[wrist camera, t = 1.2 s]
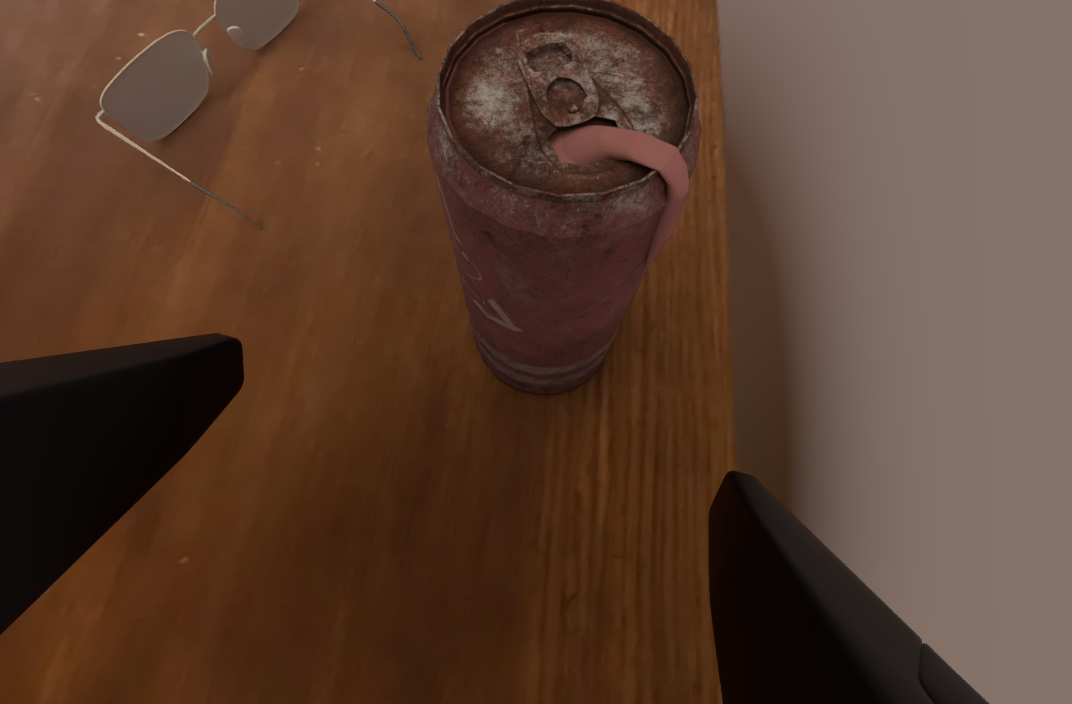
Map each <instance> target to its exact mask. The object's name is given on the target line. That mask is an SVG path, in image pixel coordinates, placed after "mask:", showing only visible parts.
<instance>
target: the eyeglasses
mask: <svg viewBox="0 0 1072 704" xmlns="http://www.w3.org/2000/svg"><path fill="white" fill-rule="evenodd" d="M372 1H373V2H375V4H377V5H378V6H379V7H381V8H382V9H383V10H385V11H386V12H388V13H389V14H390V15H391V16H393V17H394V18H395V19H396V20H397V22H398V23H399V24H400V26H401V28H402V29H403V31H404V33H405V35H406V37H407V39H408V41H409V43H410V45H411V47H412V49H413V51H414V53H415V54H416V56H417V58H421V56H420V55H419V53H418V51H417V50H416V48H415V46H414V44H413V42H412V40H411V38H410V36H409V34H408V32H407V31H406V29H405V27H404V25H403V24H402V22H401V21H400V19H399V18H398V17H397V16H396V15H395V14H394V13H393V12H392V11H390V10H389V9H388V8H386V7H385V6H384V5H382V4H381V3H380V2H378V1H377V0H372ZM299 7H300V0H215V2H214V13H215V14H214V15H213V16H211V17H210V18H209V19H208V20H207V21H206V22H204V23H203V24H202V25H201V26H200V27H199V28H198V29H197V30H196V31H195V32H194V33H193V34H192V33H190V32H189V31H186V30H175V31H172V32H169V33H167V34H165V35H163V36H162V37H160V38H158V39H157V40H155V41H154V42H153V43H151V44H150V45H149V46H147V47H146V48H145V49H144V50H143V51H141V52H140V53H139V54H138V55H136V56H135V57H134V58H133V59H132V60H131V61H130V62H129V63H128V64H127V65H126V66H125V67H124V68H123V69H122V70H121V71H120V72H119V73H118V74H117V75H116V76H115V77H114V78H113V79H112V80H111V82H110V83H109V84H108V85H107V86H106V88H105V89H104V90H103V93H102V95H101V97H100V106H101V108H102V110H101V111H100V112H99V113H98V115H97V116H96V120H97V122H98V123H99V124H100V125H101V126H102V127H104V128H105V129H106V130H108V131H109V132H111V133H112V134H114V135H116V136H117V137H119V138H120V139H122V140H123V141H125V142H127V143H128V144H130V145H131V146H133V147H134V148H136V149H138V150H139V151H141V152H142V153H144V154H145V155H147V156H149V157H150V158H152V159H153V160H155V161H156V162H158V163H160V164H161V165H163V166H164V167H166V168H167V169H169V170H171V171H172V172H174V173H175V174H177V175H178V176H180V177H182V178H183V179H185V180H186V181H188V182H189V183H190V184H191V185H193V186H194V187H196V188H198V189H199V190H201V191H203V192H205V193H206V194H208V195H210V196H211V197H213V198H215V199H217V200H219V201H220V202H222V203H224V204H226V205H227V206H229V207H231V208H232V209H234V210H235V211H237V212H238V213H240V214H241V215H242V216H244V217H245V218H247V219H248V220H250V219H249V218H248V217H247V216H245V215H244V214H242V213H241V212H240V211H238V210H237V209H236V208H234V207H233V206H231V205H230V204H228V203H227V202H225V201H224V200H222V199H220V198H219V197H217V196H216V195H214V194H212V193H210V192H209V191H207V190H206V189H204V188H202V187H201V186H199V185H198V184H196V183H194V182H193V181H190V180H189V179H187V178H186V177H184V176H183V175H181V174H180V173H178V172H177V171H175V170H174V169H172V168H171V167H169V166H168V165H166V164H165V163H163V162H162V161H160V160H159V159H157V158H156V157H154V156H153V155H151V154H150V153H148V152H147V151H145V150H144V149H142V148H141V147H139V146H138V145H136V144H135V143H133V142H132V141H130V140H129V139H127V138H126V137H124V136H123V135H121V134H120V133H118V132H117V131H115V130H114V129H112V128H111V127H109V126H108V125H106V124H105V123H103V120H104V119H105V118H106V117H107V116H109V117H110V118H111V119H112V120H113V121H114V122H115V123H117V124H118V125H119V126H121V127H122V128H124V129H125V130H127V131H128V132H130V133H131V134H133V135H135V136H136V137H138V138H140V139H142V140H145V141H157V140H160V139H162V138H164V137H165V136H167V135H168V134H170V133H171V132H172V131H173V130H175V129H176V128H177V127H178V126H179V125H180V124H182V123H183V122H184V121H185V120H186V119H187V118H188V117H189V116H190V115H191V114H192V113H193V112H194V110H195V109H196V108H197V107H198V106H199V105H200V104H201V102H202V101H203V100H204V98H205V97H206V95H207V93H208V90H209V76H208V70H209V73H210V75H211V76H214V66H213V61H212V57H211V54H210V51H209V50H208V49H204V52H203V51H202V50H201V47H200V45H199V43H198V41H197V39H196V36H197V35H198V34H199V33H200V32H201V31H202V30H203V29H204V28H205V27H206V26H207V25H208V24H210V23H211V22H212V21H213V20H214V19H217V21H218V22H219V24H220V25H221V27H222V28H223V29H224V30H225V32H226V33H227V34H228V35H229V36H230V37H231V39H232V40H233V41H234V42H235V43H236V44H238V45H239V46H242V47H243V48H245V49H247V50H251V51H254V50H257V49H259V48H261V47H262V46H264V45H265V44H267V43H268V42H269V41H271V40H272V39H273V38H275V37H276V36H277V35H278V34H279V33H280V32H281V31H282V30H283V29H284V28H285V27H286V26H287V25H288V24H289V23H290V22H291V21H292V20H293V19H294V17H295V16H296V14H297V12H298V10H299ZM207 67H208V70H207ZM250 221H251V222H253V221H252V220H250ZM253 223H254V222H253ZM254 224H255V225H257V224H256V223H254ZM257 226H258V225H257ZM258 227H260V226H258ZM260 228H261V227H260ZM261 229H262V228H261Z"/></svg>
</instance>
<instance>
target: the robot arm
mask: <svg viewBox="0 0 1072 704" xmlns="http://www.w3.org/2000/svg"><path fill="white" fill-rule="evenodd" d="M243 381H244V368H243V351H242V344H241V342H240V341H239V340H238V339H237V338H234V337H230V336H226V335H223V334H218V333H213V334H205V335H198V336H191V337H184V338H177V339H169V340H162V341H155V342H148V343H141V344H133V345H126V346H119V347H112V348H104V349H97V350H90V351H83V352H76V353H68V354H61V355H54V356H47V357H39V358H32V359H25V360H18V361H11V362H3V363H0V635H1V634H2V633H3V632H4V631H5V630H6V629H7V628H8V627H9V626H10V625H11V624H12V623H13V622H14V621H15V620H16V619H17V618H18V617H19V616H20V615H21V614H22V613H23V612H24V611H26V610H27V609H28V608H29V607H30V606H31V605H32V604H33V603H34V602H35V601H36V600H37V599H38V598H39V597H40V596H41V595H42V594H43V593H44V592H45V591H46V590H47V589H48V588H49V587H50V586H51V585H52V584H53V583H54V582H55V581H56V580H57V579H58V578H59V577H60V576H61V575H62V574H64V573H65V572H66V571H67V570H68V569H69V568H70V567H71V566H72V565H73V564H74V563H75V562H76V561H77V560H78V559H79V558H80V557H81V556H82V555H83V554H84V553H85V552H86V551H87V550H88V549H89V548H90V547H91V546H92V545H93V544H94V543H95V542H96V541H97V540H98V539H99V538H100V537H102V536H103V535H104V534H105V533H106V532H107V531H108V530H109V529H110V528H111V527H112V526H113V525H114V524H115V523H116V522H117V521H118V520H119V519H120V518H121V517H122V516H123V515H124V514H125V513H126V512H127V511H128V510H129V509H130V508H131V507H132V506H133V505H134V504H135V503H136V502H137V501H138V500H140V499H141V498H142V497H143V496H144V495H145V494H146V493H147V492H148V491H149V490H150V489H151V488H152V487H153V486H154V485H155V484H156V483H157V482H158V481H159V480H160V479H161V478H162V477H163V476H164V475H165V474H166V473H167V472H168V471H169V470H170V469H171V468H172V467H173V466H174V465H175V464H176V463H177V462H178V461H179V460H180V459H181V458H182V457H183V456H184V455H185V454H186V453H187V452H188V451H189V450H190V449H191V448H192V447H193V445H194V444H195V443H196V442H197V441H198V440H199V439H200V437H201V436H202V435H203V434H204V433H205V431H206V430H207V429H208V428H209V427H210V425H211V424H212V423H213V422H214V421H215V420H216V418H217V417H218V416H219V415H220V414H221V412H222V411H223V410H224V409H225V408H226V406H227V405H228V404H229V403H230V402H231V400H232V399H233V398H234V397H235V396H236V395H237V393H238V392H239V391H240V389H241V387H242V385H243ZM709 592H710V607H711V616H712V624H713V631H714V639H715V647H716V654H717V662H718V670H719V677H720V685H721V693H722V700H723V704H989V703H988V702H987V701H986V700H985V699H984V698H982V696H981V695H980V694H978V693H977V692H976V691H975V690H974V689H973V688H972V687H971V686H970V685H969V684H968V683H967V682H966V681H965V680H963V679H962V677H960V676H959V675H958V674H957V673H956V672H955V671H954V670H953V669H952V668H951V667H950V666H949V665H948V664H947V663H946V662H945V661H944V660H943V659H942V658H941V657H940V656H939V655H937V653H935V652H934V650H933V649H932V648H931V647H930V646H928V645H927V644H925V643H923V644H922V640H921V638H920V637H919V636H918V635H917V634H916V633H915V632H914V631H913V630H912V629H911V628H910V627H909V626H908V625H907V624H906V623H905V622H903V621H902V620H901V619H900V618H899V617H898V616H897V615H896V614H895V613H894V612H893V611H892V610H891V609H890V608H889V607H888V606H887V605H886V604H885V603H884V602H883V601H882V600H881V599H880V598H879V597H878V596H877V595H876V594H875V593H874V592H872V590H871V589H870V588H868V587H867V586H866V585H865V584H864V583H863V582H862V581H861V580H860V579H859V578H858V577H857V576H856V575H855V574H854V573H853V572H852V571H851V570H850V569H849V568H848V567H847V566H846V565H845V564H844V563H843V562H842V561H841V560H840V559H839V558H838V557H836V555H834V554H833V553H832V552H831V551H830V550H829V549H828V548H827V547H826V546H825V545H824V544H823V543H822V542H821V541H820V540H819V539H818V538H817V537H816V536H815V535H814V534H813V533H812V532H811V531H810V530H809V529H808V528H807V527H806V526H805V525H803V523H802V522H800V521H799V520H798V519H797V518H796V517H795V516H794V515H793V514H792V513H791V512H790V511H789V510H788V509H787V508H786V507H785V506H784V505H783V504H782V503H781V502H780V501H779V500H778V499H777V498H775V496H774V495H773V494H772V493H771V492H769V491H768V489H766V488H765V487H764V486H763V485H762V484H761V483H760V482H759V481H758V480H757V479H756V478H755V477H754V476H751V475H748V474H744V473H740V472H737V471H730V472H728V473H727V474H726V475H725V477H724V479H723V481H722V483H721V485H720V488H719V490H718V492H717V494H716V496H715V498H714V501H713V503H712V505H711V508H710V512H709Z"/></svg>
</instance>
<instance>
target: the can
mask: <svg viewBox="0 0 1072 704" xmlns="http://www.w3.org/2000/svg"><path fill="white" fill-rule="evenodd" d="M698 99H699V96H698V92H697V87H696V83H695V79H694V74H693V70H692V66H691V64H690V63H689V61H688V60H687V58H686V57H685V55H684V54H683V52H682V51H681V49H680V48H679V46H678V45H677V43H676V42H675V40H674V39H673V38H672V37H671V36H670V35H669V34H667V33H666V32H665V31H664V30H663V29H661V28H660V27H659V26H658V25H656V24H655V23H654V22H653V21H652V20H650V19H649V18H648V17H647V16H645V15H643V14H641V13H638V12H636V11H634V10H632V9H630V8H627V7H625V6H623V5H621V4H619V3H616V2H614V1H612V0H515V1H511V2H507V3H503V4H501V5H499V6H497V7H496V8H494V9H492V10H490V11H489V12H487V13H485V14H483V15H482V16H480V17H478V18H477V19H475V20H473V21H471V22H470V23H469V25H468V26H467V27H466V28H465V29H464V30H463V31H462V32H461V33H460V34H459V35H458V37H457V38H456V39H455V40H454V41H453V42H452V43H451V44H450V45H449V47H448V49H447V52H446V54H445V57H444V59H443V62H442V64H441V67H440V69H439V71H438V74H437V85H436V87H435V90H434V92H433V95H432V97H431V100H430V102H429V105H428V107H427V120H428V146H429V150H430V154H431V158H432V162H433V166H434V170H435V174H436V179H437V183H438V187H439V191H440V195H441V199H442V203H443V208H444V212H445V216H446V220H447V224H448V228H449V232H450V236H451V241H452V245H453V249H454V253H455V257H456V261H457V265H458V270H459V274H460V278H461V282H462V286H463V290H464V294H465V299H466V303H467V307H468V311H469V315H470V319H471V323H472V327H473V332H474V336H475V340H476V343H477V346H478V348H479V351H480V353H481V356H482V358H483V361H484V362H485V363H486V365H487V366H488V367H489V368H490V369H491V370H492V372H493V373H494V374H495V375H496V376H497V377H498V378H499V379H501V380H503V381H504V382H506V383H508V384H509V385H511V386H512V387H514V388H516V389H519V390H523V391H528V392H532V393H536V394H545V393H560V392H563V391H565V390H568V389H570V388H573V387H575V386H578V385H580V384H582V383H583V382H584V381H585V380H586V379H588V378H589V377H590V376H591V375H592V374H594V373H595V372H596V371H597V370H598V368H599V366H600V365H601V363H602V361H603V360H604V358H605V356H606V355H607V353H608V351H609V349H610V347H611V344H612V342H613V340H614V338H615V336H616V334H617V332H618V329H619V327H620V325H621V323H622V321H623V319H624V317H625V315H626V312H627V310H628V308H629V306H630V304H631V302H632V300H633V298H634V295H635V293H636V291H637V289H638V287H639V285H640V283H641V281H642V278H643V276H644V274H645V272H646V270H647V268H648V266H649V265H650V264H651V263H652V261H653V260H654V259H655V257H656V256H657V254H658V253H659V252H660V250H661V249H662V248H663V246H664V245H665V243H666V242H667V241H668V239H669V238H670V237H671V235H672V232H673V230H674V227H675V224H676V222H677V219H678V216H679V214H680V211H681V209H682V206H683V203H684V201H685V198H686V195H687V193H688V190H689V178H690V176H691V174H692V172H693V170H694V168H695V166H696V161H697V155H698V149H699V143H700V138H701V132H702V129H701V125H700V120H699V116H698V112H697V105H698Z"/></svg>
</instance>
